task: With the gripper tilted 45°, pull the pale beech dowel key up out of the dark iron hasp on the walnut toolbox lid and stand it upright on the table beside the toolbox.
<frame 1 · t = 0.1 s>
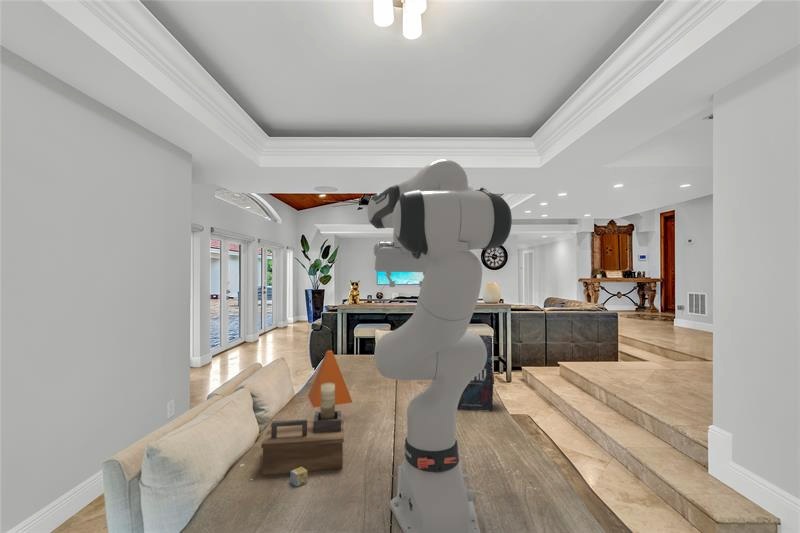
hand: (407, 287, 116), 48 cm above the table, tool pointing down, fingers open, 8 cm apart
dowel key: (327, 426, 108), point 8 cm above the table, touching toolbox
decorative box: (470, 407, 146), on the table
alphabet block: (298, 483, 93), on the table
toolbox: (305, 459, 105), on the table
pyramid: (329, 399, 156), on the table
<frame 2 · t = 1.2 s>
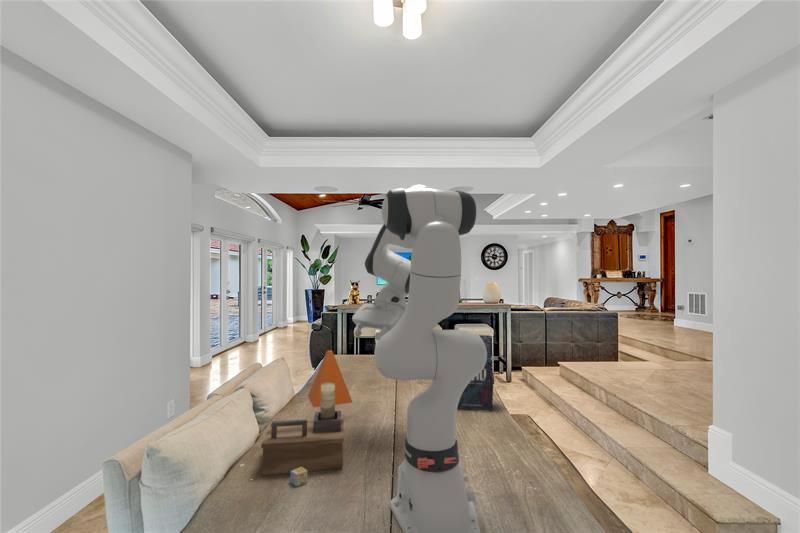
hand: (366, 337, 118), 32 cm above the table, tool tilted 45°, fingers open, 8 cm apart
nothing on the table moved.
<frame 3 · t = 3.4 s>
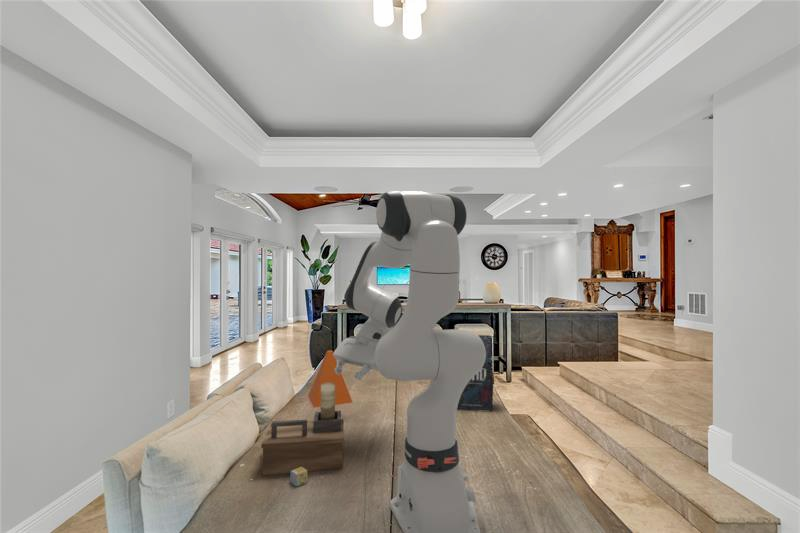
hand: (346, 375, 113), 21 cm above the table, tool tilted 45°, fingers open, 8 cm apart
nothing on the table moved.
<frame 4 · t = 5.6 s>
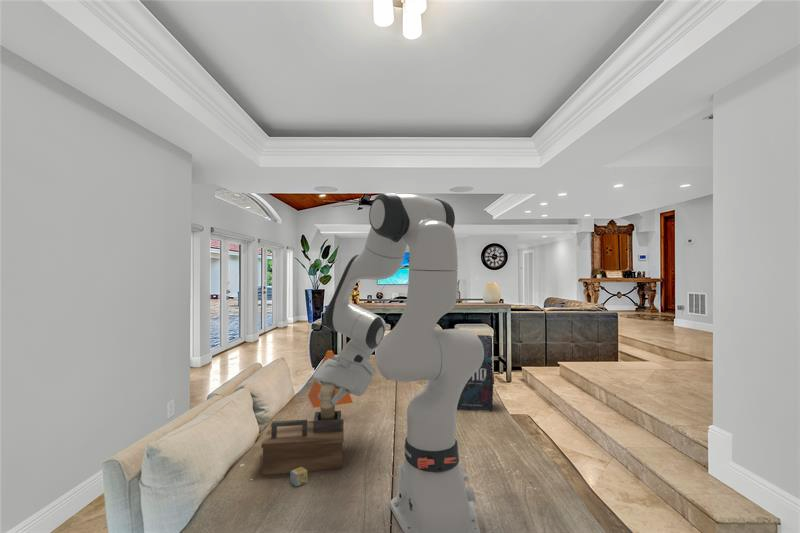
hand: (326, 401, 107), 15 cm above the table, tool tilted 45°, fingers closed on dowel key, 4 cm apart
dowel key: (327, 426, 108), point 8 cm above the table, touching gripper, toolbox
everything else where it was.
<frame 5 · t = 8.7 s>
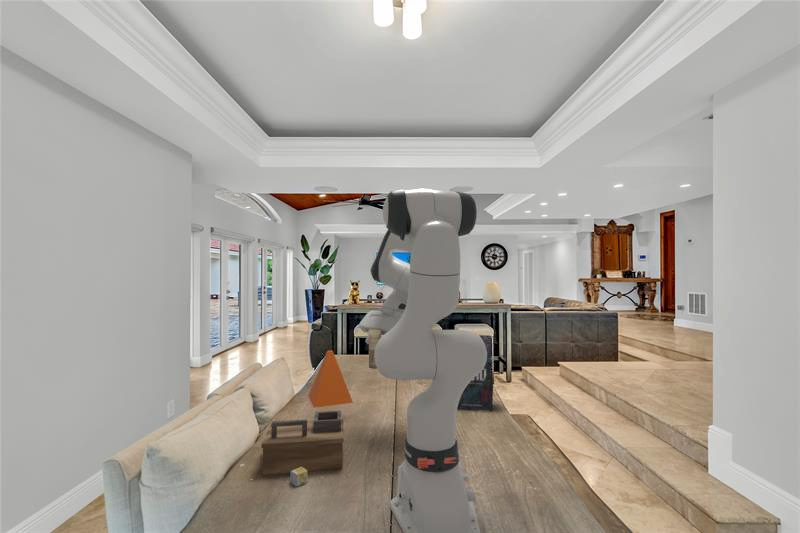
hand: (373, 344, 119), 30 cm above the table, tool tilted 45°, fingers closed on dowel key, 4 cm apart
dowel key: (375, 367, 119), point 22 cm above the table, touching gripper
everything else where it was.
when the fingers open (8 cm above the table, at t = 11.9 s): dowel key drops 1 cm, on the table.
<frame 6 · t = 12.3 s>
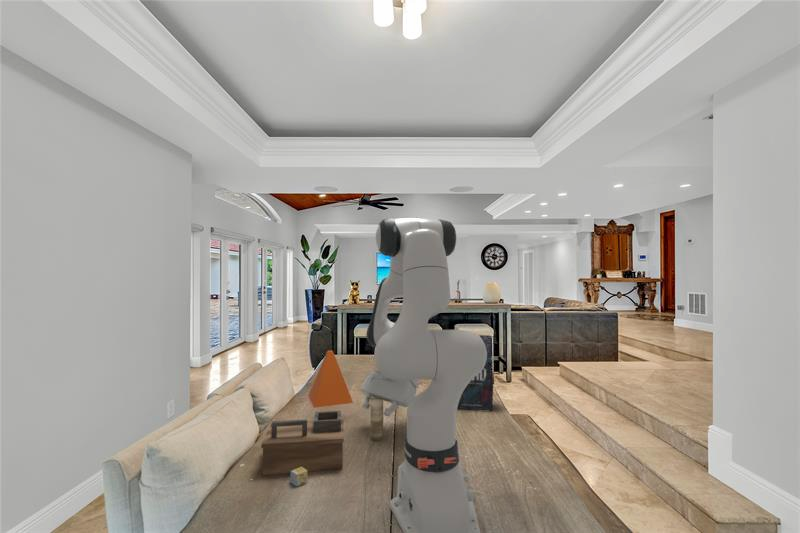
hand: (375, 411, 118), 8 cm above the table, tool tilted 45°, fingers open, 8 cm apart
dowel key: (376, 437, 119), on the table
everything else where it was.
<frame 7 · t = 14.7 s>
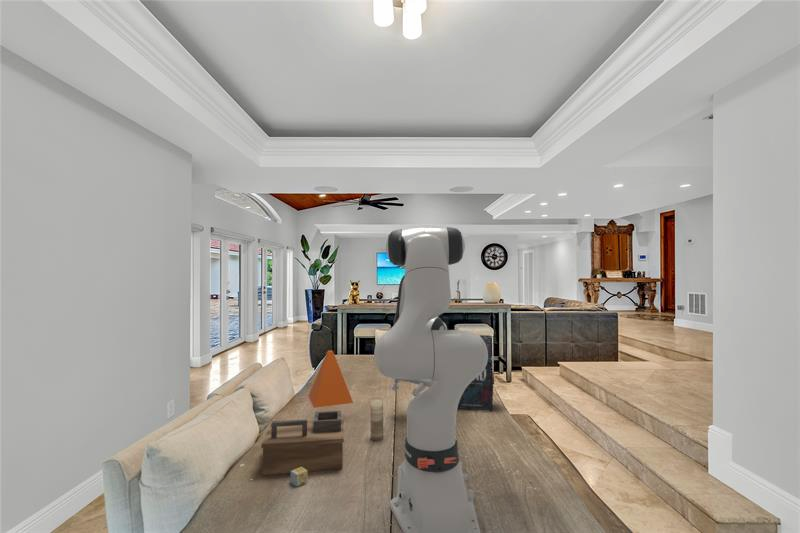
hand: (403, 392, 128), 12 cm above the table, tool tilted 45°, fingers open, 8 cm apart
nothing on the table moved.
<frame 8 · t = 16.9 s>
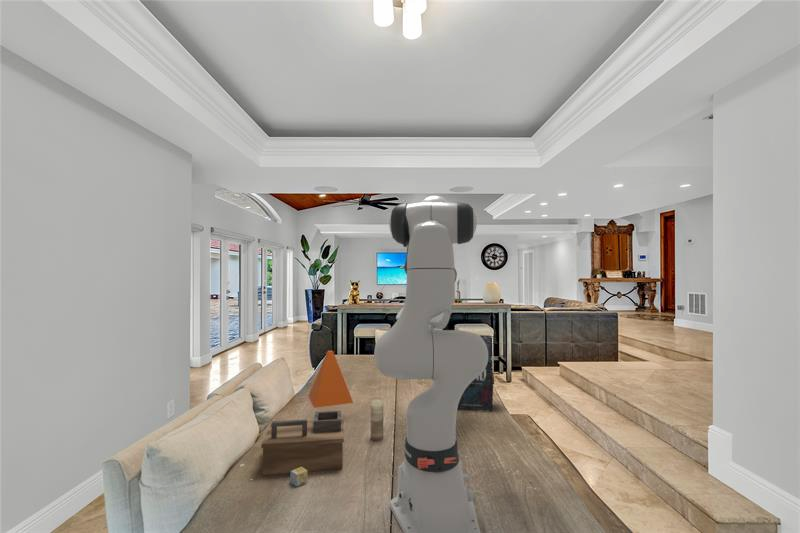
hand: (412, 334, 127), 31 cm above the table, tool tilted 45°, fingers open, 8 cm apart
nothing on the table moved.
at the end: dowel key inside the target area (0.1 cm from its centre), on the table; dowel key tilted 0°; the gripper is holding nothing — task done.
